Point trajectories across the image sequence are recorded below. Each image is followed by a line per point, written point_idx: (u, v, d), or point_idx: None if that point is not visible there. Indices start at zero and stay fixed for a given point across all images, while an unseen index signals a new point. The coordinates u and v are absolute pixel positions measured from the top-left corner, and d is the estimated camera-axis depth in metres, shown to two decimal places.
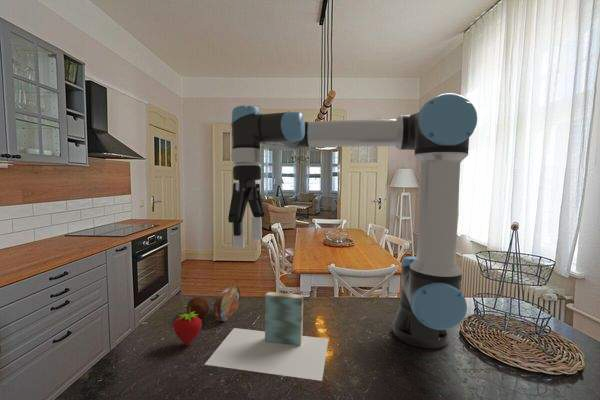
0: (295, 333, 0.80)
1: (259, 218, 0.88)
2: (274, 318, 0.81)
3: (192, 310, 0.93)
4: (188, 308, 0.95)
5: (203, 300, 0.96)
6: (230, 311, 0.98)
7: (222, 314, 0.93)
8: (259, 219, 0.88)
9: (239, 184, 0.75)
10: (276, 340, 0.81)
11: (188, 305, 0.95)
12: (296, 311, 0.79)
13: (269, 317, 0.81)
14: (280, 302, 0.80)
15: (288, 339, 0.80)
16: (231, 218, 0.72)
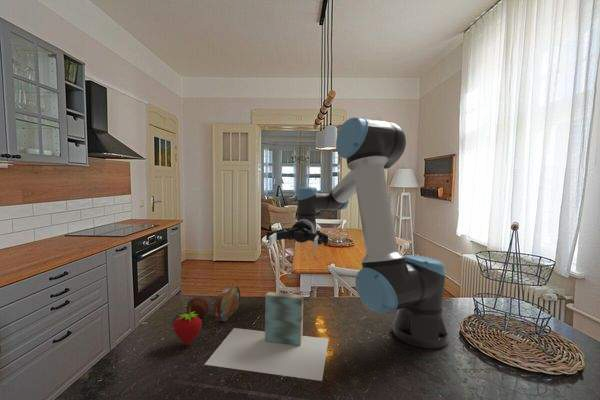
0: (295, 333, 0.80)
1: None
2: (274, 318, 0.81)
3: (192, 310, 0.93)
4: (188, 308, 0.95)
5: (203, 300, 0.96)
6: (230, 311, 0.98)
7: (222, 314, 0.93)
8: (316, 237, 0.94)
9: None
10: (276, 340, 0.81)
11: (188, 305, 0.95)
12: (296, 311, 0.79)
13: (269, 317, 0.81)
14: (280, 302, 0.80)
15: (288, 339, 0.80)
16: None
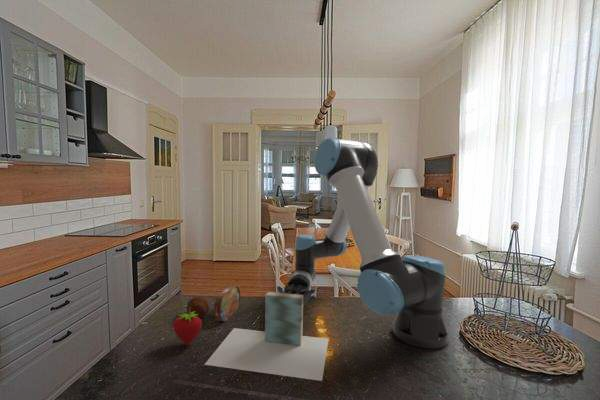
0: (295, 333, 0.80)
1: None
2: (274, 318, 0.81)
3: (192, 310, 0.93)
4: (188, 308, 0.95)
5: (203, 300, 0.96)
6: (230, 311, 0.98)
7: (222, 314, 0.93)
8: None
9: (277, 289, 1.00)
10: (276, 340, 0.81)
11: (188, 305, 0.95)
12: (296, 311, 0.79)
13: (269, 317, 0.81)
14: (280, 302, 0.80)
15: (288, 339, 0.80)
16: None
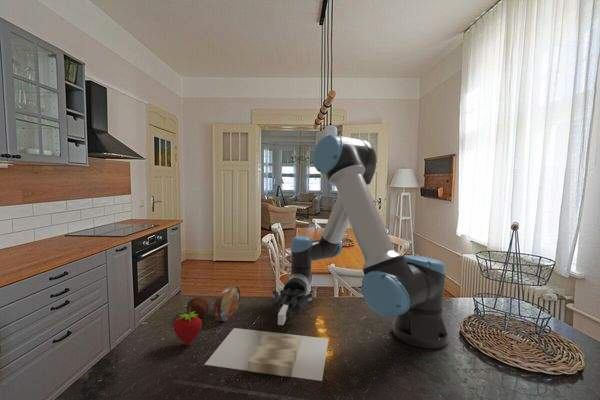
0: None
1: None
2: None
3: (192, 310, 0.93)
4: (188, 308, 0.95)
5: (203, 300, 0.96)
6: (230, 311, 0.98)
7: (222, 314, 0.93)
8: None
9: None
10: None
11: (188, 305, 0.95)
12: None
13: None
14: None
15: None
16: (274, 308, 0.86)
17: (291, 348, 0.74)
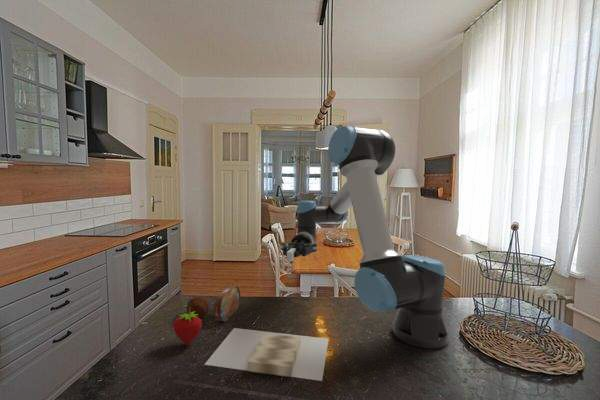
0: None
1: None
2: None
3: (192, 310, 0.93)
4: (188, 308, 0.95)
5: (203, 300, 0.96)
6: (230, 311, 0.98)
7: (222, 314, 0.93)
8: None
9: (281, 244, 1.06)
10: None
11: (188, 305, 0.95)
12: None
13: None
14: None
15: None
16: (283, 252, 0.97)
17: (291, 348, 0.74)
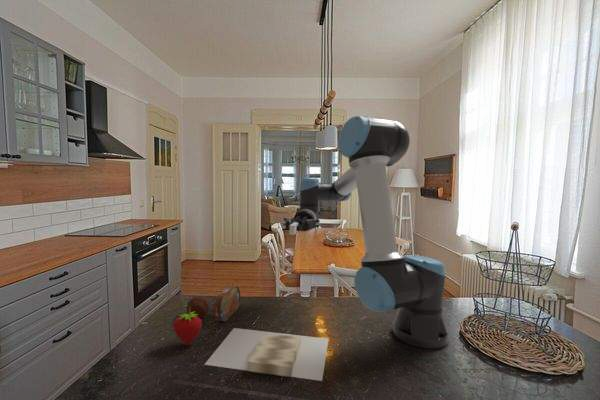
0: None
1: None
2: None
3: (192, 310, 0.93)
4: (188, 308, 0.95)
5: (203, 300, 0.96)
6: (230, 311, 0.98)
7: (222, 314, 0.93)
8: (295, 223, 0.94)
9: None
10: None
11: (188, 305, 0.95)
12: None
13: None
14: None
15: None
16: (286, 226, 0.96)
17: (291, 348, 0.74)
